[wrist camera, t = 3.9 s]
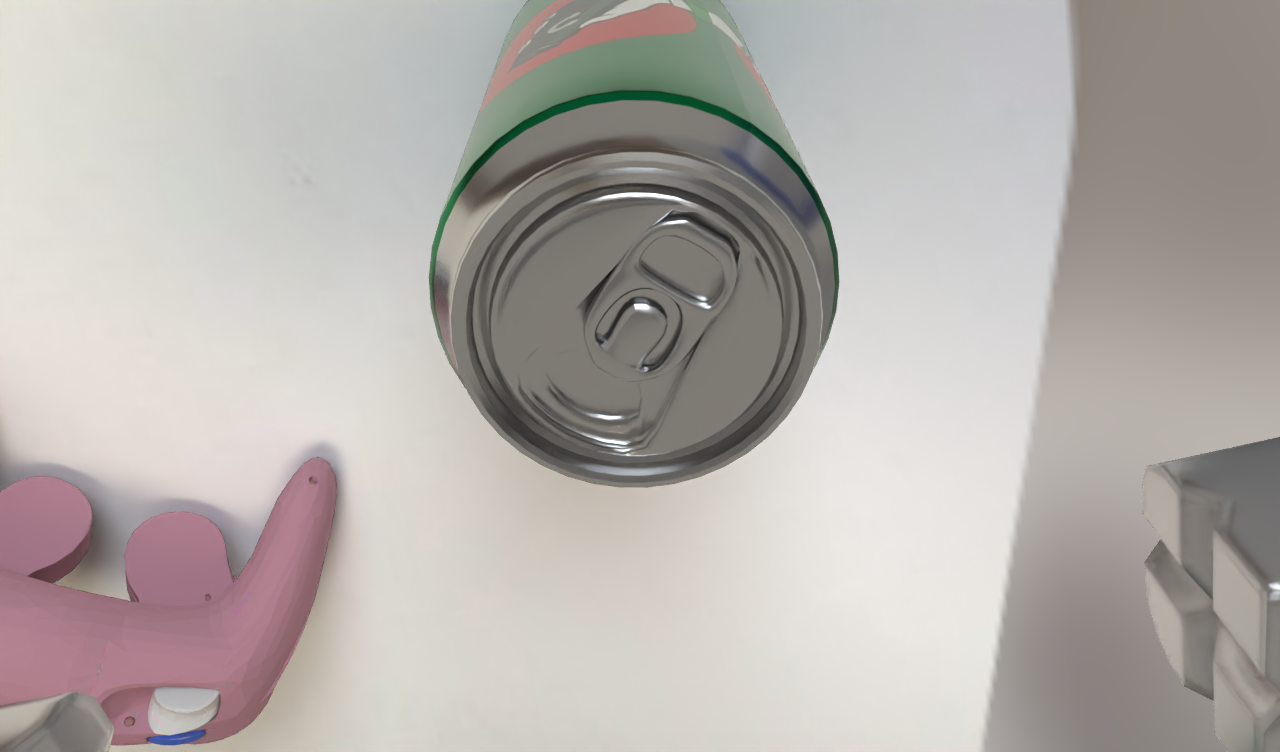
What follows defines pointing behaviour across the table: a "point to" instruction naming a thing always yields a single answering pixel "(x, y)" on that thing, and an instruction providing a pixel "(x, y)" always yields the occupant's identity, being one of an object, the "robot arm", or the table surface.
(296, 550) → the video game controller
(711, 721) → the table surface
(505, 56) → the soda can
